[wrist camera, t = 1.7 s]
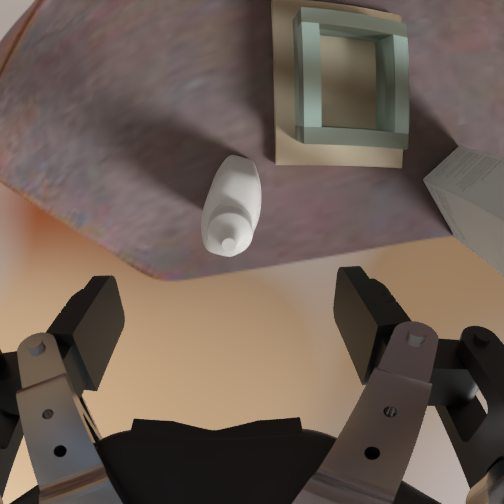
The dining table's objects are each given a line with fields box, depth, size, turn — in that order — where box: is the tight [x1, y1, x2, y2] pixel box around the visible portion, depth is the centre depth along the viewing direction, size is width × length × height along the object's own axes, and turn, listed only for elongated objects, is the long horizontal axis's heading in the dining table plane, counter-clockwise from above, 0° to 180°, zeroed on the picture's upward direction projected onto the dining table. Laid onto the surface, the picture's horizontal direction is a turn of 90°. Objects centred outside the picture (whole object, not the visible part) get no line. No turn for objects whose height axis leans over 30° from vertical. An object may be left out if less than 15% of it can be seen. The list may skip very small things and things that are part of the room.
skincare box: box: [423, 146, 504, 276], centre depth 20 cm, size 8×6×15 cm
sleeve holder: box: [271, 0, 409, 168], centre depth 21 cm, size 14×11×4 cm
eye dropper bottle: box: [201, 155, 261, 257], centre depth 21 cm, size 4×6×12 cm
